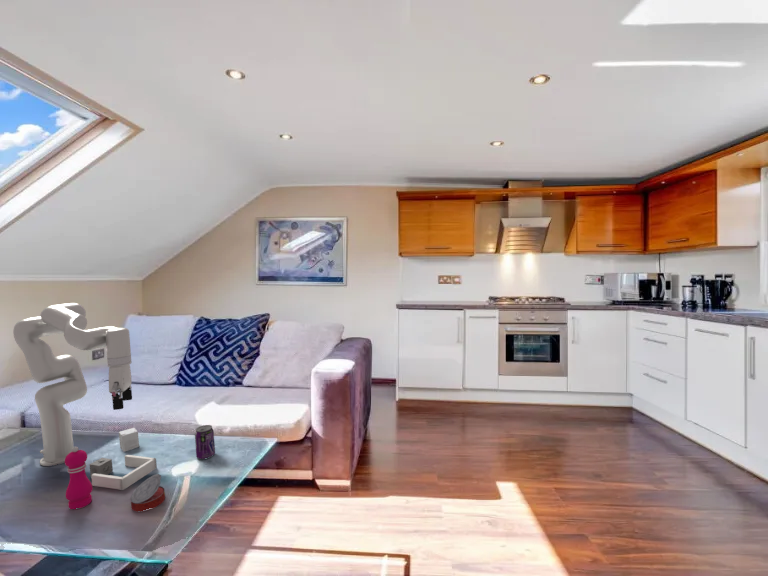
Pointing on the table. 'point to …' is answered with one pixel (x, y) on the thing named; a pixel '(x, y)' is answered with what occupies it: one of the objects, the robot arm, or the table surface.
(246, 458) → the table surface
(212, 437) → the beverage can
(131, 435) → the skincare box
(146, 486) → the canned food
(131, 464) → the box
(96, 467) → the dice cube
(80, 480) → the pepper mill
